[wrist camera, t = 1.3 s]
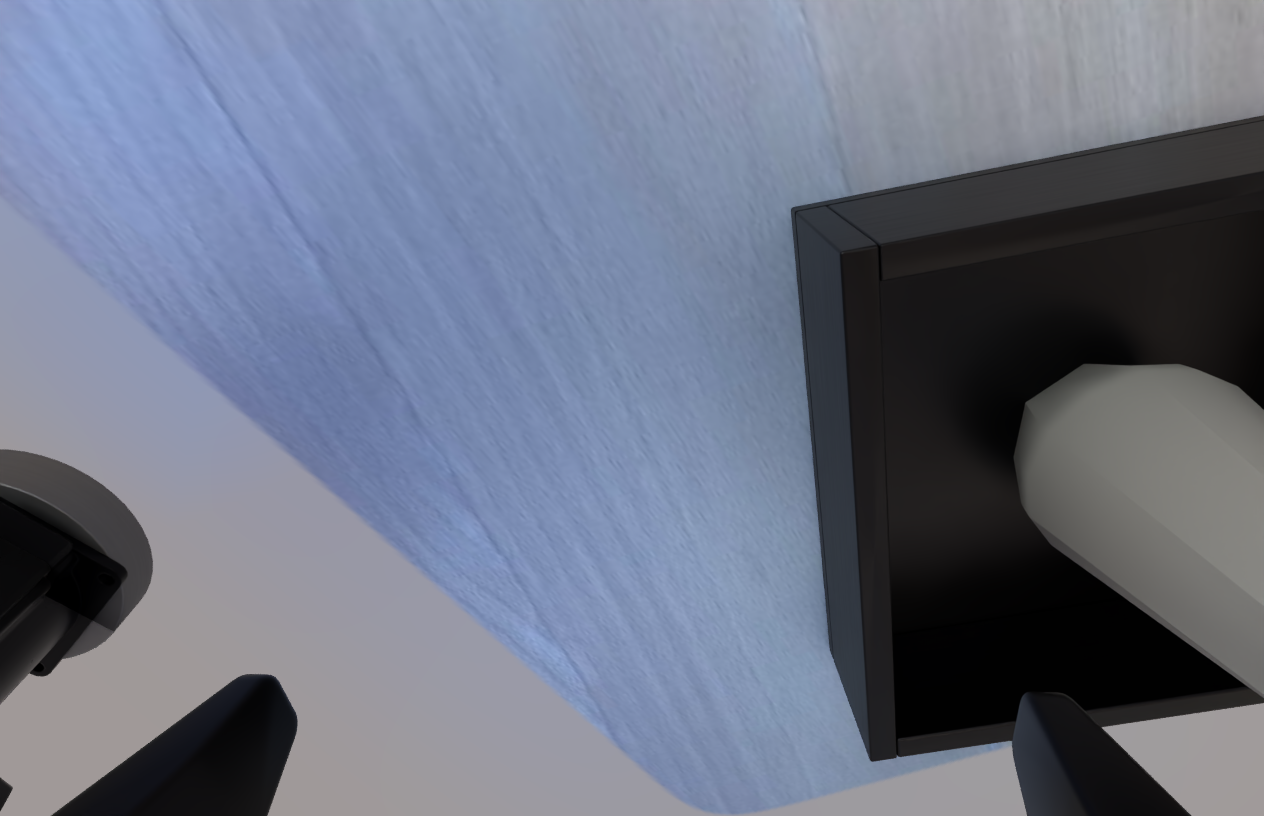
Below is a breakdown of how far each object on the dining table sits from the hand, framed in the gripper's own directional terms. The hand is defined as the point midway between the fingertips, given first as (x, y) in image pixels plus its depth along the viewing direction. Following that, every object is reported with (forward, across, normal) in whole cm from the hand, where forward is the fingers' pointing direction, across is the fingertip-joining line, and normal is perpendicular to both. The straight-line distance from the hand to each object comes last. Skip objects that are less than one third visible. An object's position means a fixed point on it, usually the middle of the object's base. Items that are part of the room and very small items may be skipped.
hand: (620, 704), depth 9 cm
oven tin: (+14, -11, +5) cm, 19 cm away
